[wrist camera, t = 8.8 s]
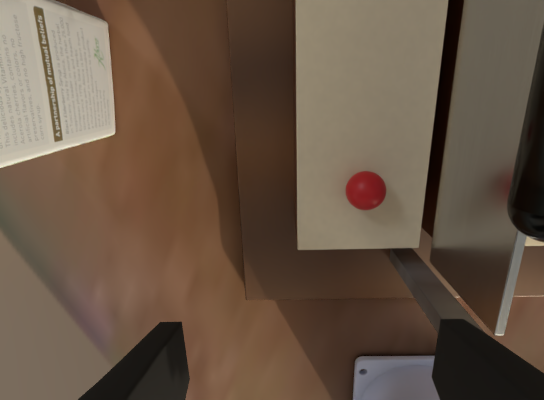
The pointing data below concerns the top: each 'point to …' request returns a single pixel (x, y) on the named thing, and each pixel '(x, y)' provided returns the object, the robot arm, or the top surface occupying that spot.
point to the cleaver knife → (492, 156)
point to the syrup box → (52, 79)
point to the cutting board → (280, 191)
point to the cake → (370, 119)
